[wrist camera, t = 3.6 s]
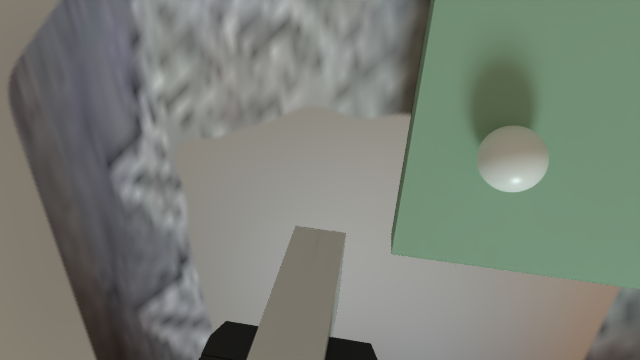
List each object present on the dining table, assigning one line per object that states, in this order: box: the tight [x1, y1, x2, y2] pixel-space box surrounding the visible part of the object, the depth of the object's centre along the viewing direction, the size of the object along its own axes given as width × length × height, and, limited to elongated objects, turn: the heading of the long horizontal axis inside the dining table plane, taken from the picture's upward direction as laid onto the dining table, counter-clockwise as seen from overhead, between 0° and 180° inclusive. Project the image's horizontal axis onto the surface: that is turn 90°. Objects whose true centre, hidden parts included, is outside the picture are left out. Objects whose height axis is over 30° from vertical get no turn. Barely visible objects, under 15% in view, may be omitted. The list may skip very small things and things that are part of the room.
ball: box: [477, 125, 549, 192], centre depth 23 cm, size 3×3×3 cm
